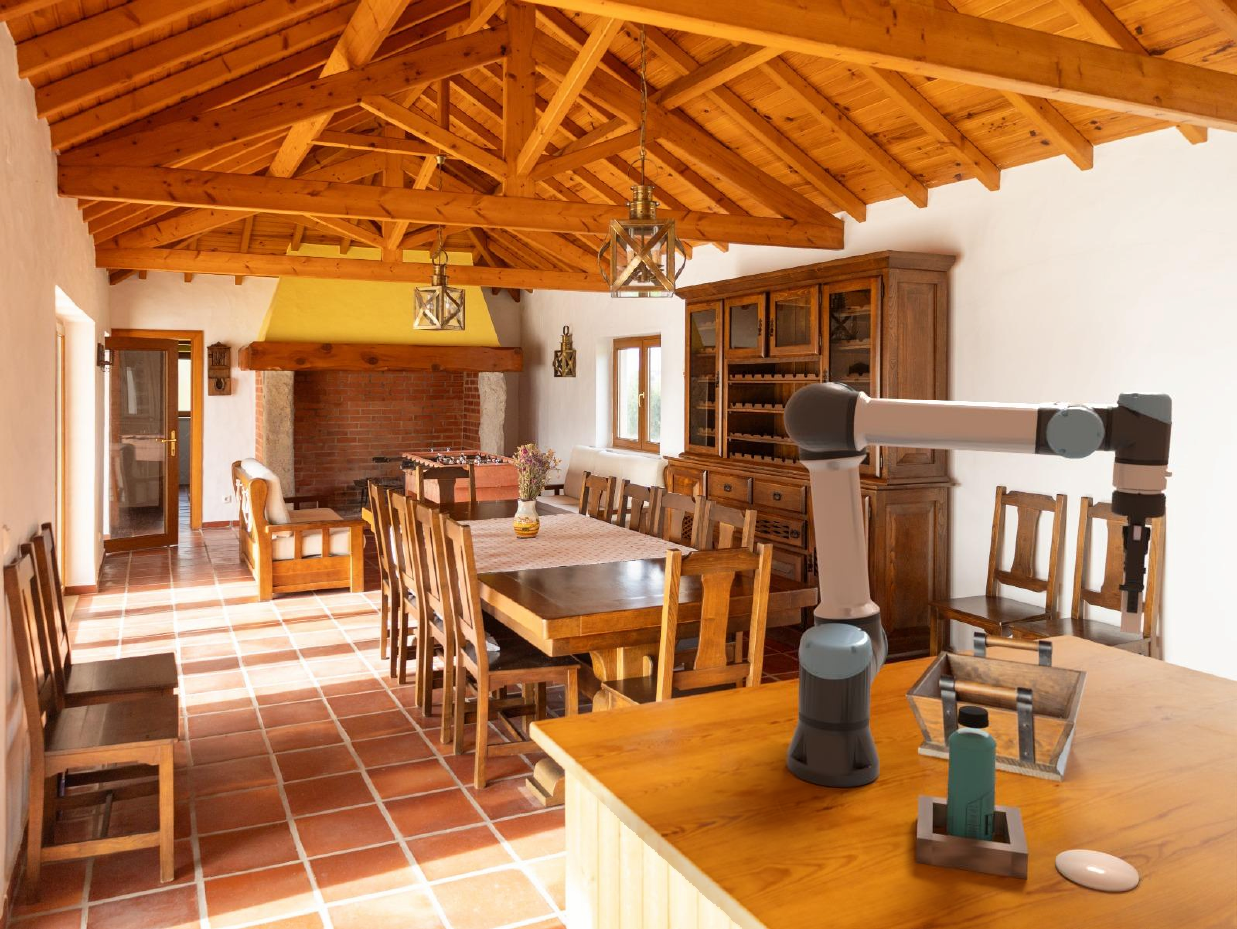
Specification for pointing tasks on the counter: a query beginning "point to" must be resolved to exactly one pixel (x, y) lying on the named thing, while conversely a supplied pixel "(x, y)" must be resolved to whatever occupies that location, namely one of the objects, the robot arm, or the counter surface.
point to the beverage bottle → (971, 777)
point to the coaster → (1097, 870)
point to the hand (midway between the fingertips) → (1130, 622)
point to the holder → (972, 842)
